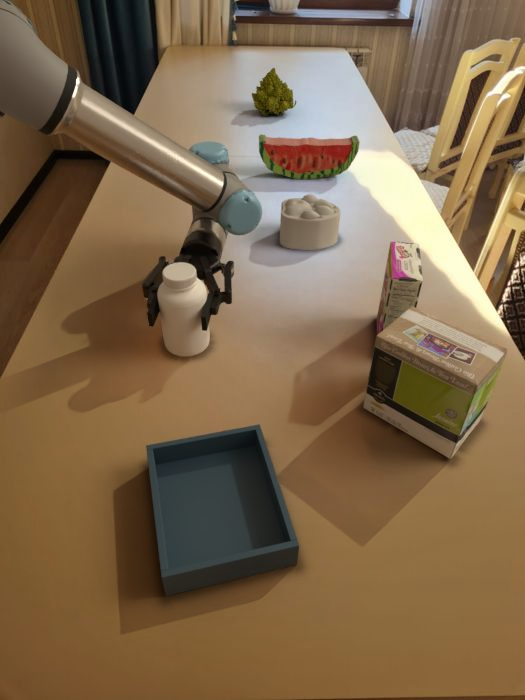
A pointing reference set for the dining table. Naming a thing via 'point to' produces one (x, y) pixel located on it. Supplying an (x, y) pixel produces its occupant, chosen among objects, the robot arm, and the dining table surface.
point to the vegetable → (273, 95)
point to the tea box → (432, 379)
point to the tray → (218, 509)
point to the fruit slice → (308, 156)
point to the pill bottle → (182, 310)
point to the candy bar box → (399, 283)
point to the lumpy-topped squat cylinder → (308, 223)
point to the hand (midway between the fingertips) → (177, 321)
